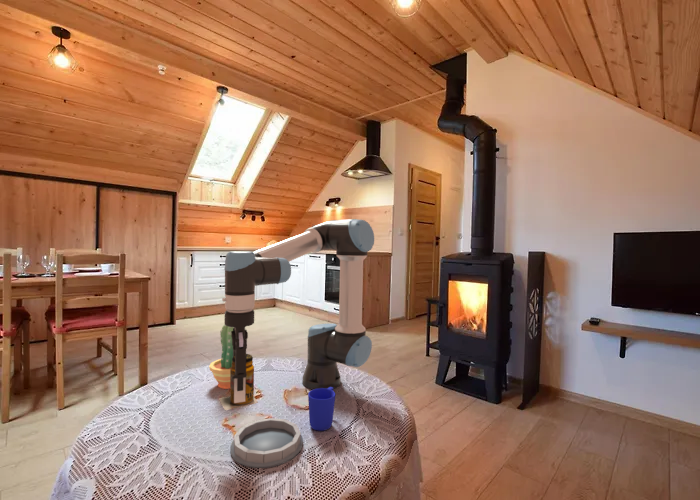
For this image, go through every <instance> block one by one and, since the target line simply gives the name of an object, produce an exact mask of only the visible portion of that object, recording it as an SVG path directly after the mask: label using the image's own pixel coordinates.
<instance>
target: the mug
mask: <svg viewBox="0 0 700 500" xmlns="http://www.w3.org/2000/svg"><path fill="white" fill-rule="evenodd" d="M307 396H308V397H307V398H308V400H307V401H308V417H309V418H308V419H309V426H310V428H311V429H313V430H314V431H319V432H323V431H326V430H329V429H330V428H331V427H332V425H333V422H334V421H333V420H334V411H335V403H336V392H335V391H334V388H333V387H329V388H327V389H326V388H318V389H311V390H309V392H308V394H307Z"/></svg>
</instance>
